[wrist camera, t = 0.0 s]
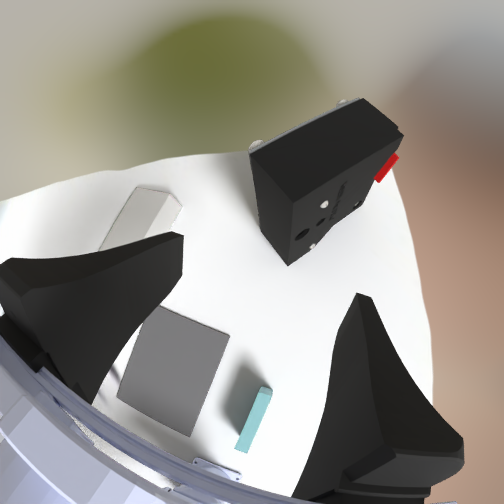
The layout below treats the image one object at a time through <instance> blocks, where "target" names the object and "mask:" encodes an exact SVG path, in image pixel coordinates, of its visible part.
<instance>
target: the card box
mask: <svg viewBox="0 0 504 504" xmlns="http://www.w3.org/2000/svg"><path fill="white" fill-rule="evenodd" d="M272 392H273V390H272V389H269V388H266V387H263V386H261V388H260V390H259V392H258V395H257V397H256V399H255V402H254V404H253V407H252V409H251V411H250V414H249V416H248V419H247V421H246V423H245V426H244V428H243V430H242V432H241V435H240V437H239V439H238V442H237V444H236V446H235V448H234V449H236V450H239V451H241V452H244V453H247V452H248V450H249V448H250V447H251V445H252V443H253V441H254V439H255V436H256V434H257V432H258V430H259V427H260V425H261V423H262V421H263V418H264V416H265V413H266V411H267V409H268V406H269V404H270V400H271V397H272Z"/></svg>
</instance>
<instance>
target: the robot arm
mask: <svg viewBox="0 0 504 504" xmlns="http://www.w3.org/2000/svg"><path fill="white" fill-rule="evenodd" d="M183 240H184V235H181V234H178V233H175V232H172V231H171V232H166V233H162V234H158V235H155V236H151V237H148V238H145V239H142V240H138V241H135V242H132V243H129V244H125V245H121V246H118V247H114V248H111V249H107V250H103V251H99V252H94V253H89V254H84V255H77V256H69V257H61V258H47V259H28V258H10V259H8V260H6V261H5V262H3V263H2V264H0V304H1V306H2V308H3V310H4V312H5V314H3V315H2V316H0V415H1V416H2V418H1V419H0V432H1V433H2V435H3V436H4V437H5V438H4V440H3V441H2V442H1V443H0V504H228V503H230V504H424V498H426V497H429V495H430V492H431V486H433V485H435V484H437V483H439V482H441V481H443V480H445V479H447V478H449V477H451V476H453V475H454V474H456V473H457V472H458V471H459V470H460V469H461V468H462V467H463V465H464V442H463V438H462V437H461V436H460V435H459V434H458V433H457V432H456V431H455V430H454V429H453V428H452V427H451V426H450V425H449V424H448V423H447V422H446V421H445V420H444V419H443V418H442V417H441V415H440V414H439V413H438V412H437V411H436V410H435V409H434V407H433V406H432V405H431V404H430V402H429V401H428V400H427V399H426V397H425V396H424V394H423V393H422V392H421V390H420V389H419V388H418V386H417V385H416V383H415V382H414V380H413V379H412V377H411V376H410V374H409V373H408V371H407V369H406V368H405V366H404V364H403V363H402V361H401V359H400V357H399V356H398V354H397V352H396V350H395V348H394V346H393V344H392V342H391V340H390V338H389V336H388V334H387V332H386V329H385V327H384V325H383V323H382V321H381V318H380V316H379V314H378V312H377V309H376V307H375V305H374V302H373V300H372V298H371V297H369V296H366V295H363V294H359V293H356V295H355V297H354V299H353V301H352V303H351V305H350V307H349V309H348V311H347V313H346V315H345V317H344V319H343V321H342V323H341V325H340V327H339V329H338V332H337V336H336V340H335V345H334V349H333V354H332V362H331V370H330V377H329V385H328V392H327V398H326V403H325V408H324V412H323V415H322V419H321V422H320V426H319V429H318V432H317V435H316V438H315V441H314V444H313V447H312V450H311V452H310V455H309V457H308V460H307V463H306V465H305V468H304V470H303V472H302V475H301V477H300V479H299V481H298V484H297V486H296V488H295V490H294V492H293V494H292V496H291V497H287V496H283V495H279V494H275V493H271V492H268V491H264V490H261V489H257V488H254V487H251V486H248V485H245V484H242V483H239V482H240V480H241V478H242V475H241V474H239V473H236V472H233V471H230V470H228V469H225V468H222V467H220V466H217V465H215V464H212V463H210V462H207V461H205V460H203V459H200V458H198V457H196V458H194V460H193V462H192V464H191V463H189V462H186V461H184V460H182V459H180V458H178V457H176V456H174V455H172V454H170V453H168V452H166V451H164V450H162V449H160V448H158V447H156V446H154V445H153V444H151V443H149V442H147V441H145V440H144V439H142V438H140V437H138V436H137V435H135V434H133V433H132V432H130V431H128V430H127V429H125V428H124V427H122V426H120V425H119V424H117V423H116V422H114V421H113V420H111V419H110V418H108V417H107V416H105V415H104V414H102V413H101V412H100V411H98V410H97V409H95V408H94V407H93V406H91V405H92V403H93V400H94V398H95V396H96V394H97V392H98V390H99V388H100V386H101V384H102V382H103V380H104V378H105V377H106V375H107V373H108V371H109V370H110V368H111V366H112V364H113V363H114V361H115V360H116V358H117V357H118V355H119V353H120V352H121V350H122V349H123V347H124V346H125V344H126V343H127V342H128V340H129V339H130V337H131V336H132V335H133V333H134V332H135V331H136V329H137V328H138V327H139V326H140V325H141V324H142V323H143V322H144V320H145V319H146V318H147V317H148V316H149V315H150V314H151V313H152V312H153V311H154V310H155V309H156V308H157V306H158V305H159V304H160V303H161V302H162V301H163V300H164V299H165V298H166V297H167V296H168V294H169V293H170V292H171V291H172V289H173V288H174V287H175V285H176V284H177V282H178V281H179V279H180V278H181V276H182V266H183ZM60 406H61V407H62V408H63V409H65V410H66V411H67V412H68V413H69V414H71V415H72V416H73V417H74V418H75V419H77V420H78V421H79V422H81V423H82V424H83V425H84V426H86V427H87V428H88V429H90V430H91V431H92V432H94V433H95V434H97V435H98V436H99V437H101V438H102V439H104V440H105V441H107V442H108V443H110V444H111V445H112V446H114V447H116V448H117V449H119V450H120V451H122V452H123V453H125V454H127V455H128V456H130V457H131V458H133V459H135V460H137V461H138V462H140V463H142V464H143V465H145V466H147V467H149V468H151V469H152V470H154V471H156V472H158V473H160V474H162V475H164V476H166V477H168V478H170V479H172V480H174V481H176V482H178V483H180V484H182V485H181V486H180V487H175V488H174V489H173V490H172V489H171V488H169V487H165V488H160V487H158V486H156V485H155V484H153V483H151V482H149V481H147V480H146V479H144V478H142V477H140V476H139V475H137V474H135V473H134V472H132V471H130V470H129V469H127V468H126V467H124V466H122V465H121V464H119V463H118V462H116V461H115V460H113V459H112V458H110V457H109V456H107V455H106V454H104V453H103V452H101V451H100V450H99V449H97V448H96V447H94V446H93V445H94V443H93V441H92V440H90V439H89V438H88V437H87V436H86V435H85V434H84V433H83V432H82V431H81V429H80V428H79V427H78V426H77V425H76V423H75V422H74V420H73V419H72V418H71V417H70V416H69V415H67V414H66V413H65V412H64V411H63V410H62V409H61V408H60ZM195 461H196V462H197V463H195ZM236 478H239V479H236ZM432 504H457V502H456V501H453V502H444V503H432Z"/></svg>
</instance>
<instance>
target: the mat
mask: <svg viewBox="0 0 504 504" xmlns="http://www.w3.org/2000/svg"><path fill="white" fill-rule="evenodd" d="M229 338H230V336H228V335H226V334H223V333H221V332H218V331H216V330H213V329H211V328H208V327H206V326H203V325H201V324H199V323H196V322H194V321H192V320H189V319H187V318H185V317H182V316H180V315H178V314H175V313H173V312H171V311H169V310H167V309H164V308H162V307H160V306H157V308H156V309H155V310H154V311H153V312H152V313H151V314H150V315H149V316H148V317H147V318H146V319H145V321H144V323H143V326H142V328H141V331H140V333H139V336H138V339H137V341H136V344H135V346H134V349H133V352H132V354H131V357H130V360H129V363H128V365H127V368H126V371H125V374H124V377H123V379H122V382H121V385H120V388H119V391H118V394H117V398H119V399H120V400H122V401H123V402H125V403H127V404H128V405H130V406H132V407H133V408H135V409H137V410H138V411H140V412H142V413H144V414H145V415H147V416H149V417H151V418H152V419H154V420H156V421H158V422H160V423H162V424H164V425H166V426H168V427H170V428H171V429H173V430H176V431H178V432H180V433H182V434H184V435H186V436H188V437H190V436H191V433H192V431H193V428H194V426H195V423H196V421H197V418H198V416H199V413H200V411H201V408H202V406H203V403H204V401H205V398H206V396H207V393H208V391H209V388H210V386H211V383H212V381H213V378H214V376H215V373H216V371H217V368H218V366H219V363H220V361H221V358H222V356H223V353H224V351H225V348H226V346H227V343H228V341H229Z"/></svg>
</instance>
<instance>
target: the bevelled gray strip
mask: <svg viewBox="0 0 504 504" xmlns="http://www.w3.org/2000/svg"><path fill="white" fill-rule="evenodd" d="M181 209H182V206H181V205H180V204H179V203H178V202H177V200H176V199H175V198H174V197H173V196H172V195H171V194H169V193H164V192H159V191H153V190H148V189H142V188H137V187H136V189H135V190H134V192H133V194H132V195H131V197H130V198H129V200H128V201H127V203H126V205H125V206H124V208H123V210H122V211H121V213H120V215H119V216H118V218H117V220H116V221H115V223H114V225H113V227H112V228H111V230H110V232H109V234H108V235H107V237H106V239H105V241H104V243H103V244H102V246H101V248H100V250H99V251H103V250H107V249H111V248H114V247H118V246H121V245H125V244H129V243H132V242H135V241H138V240H142V239H145V238H148V237H151V236H155V235H158V234H162V233H166V232H169V230H170V228H171V226H172V224H173V223H174V221H175V219H176V217H177V216H178V214H179V212H180V210H181Z"/></svg>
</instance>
